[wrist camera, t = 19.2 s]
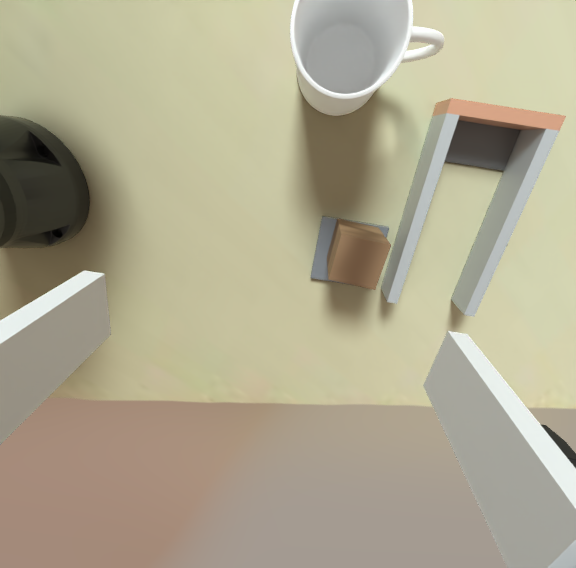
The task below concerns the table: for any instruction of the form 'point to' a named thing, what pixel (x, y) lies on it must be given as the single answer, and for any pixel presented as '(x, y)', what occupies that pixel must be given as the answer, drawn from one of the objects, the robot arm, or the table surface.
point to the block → (357, 254)
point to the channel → (483, 153)
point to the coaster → (324, 243)
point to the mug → (353, 48)
